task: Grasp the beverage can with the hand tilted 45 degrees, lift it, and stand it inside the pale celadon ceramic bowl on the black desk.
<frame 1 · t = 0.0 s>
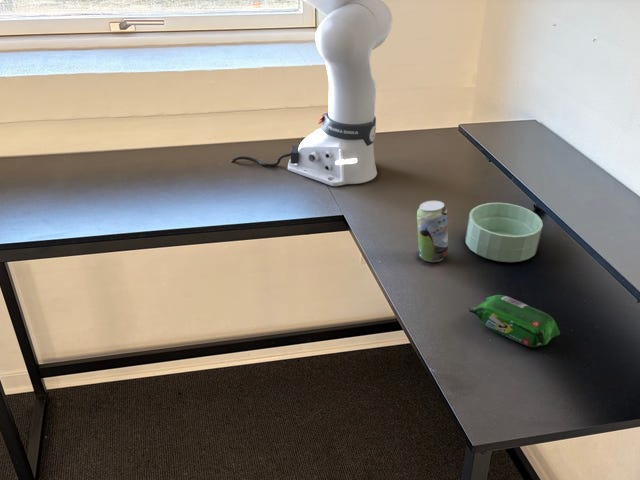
beverage can: (429, 258, 151), on the table
snack package: (511, 332, 132), on the table
bowl: (500, 246, 157), on the table
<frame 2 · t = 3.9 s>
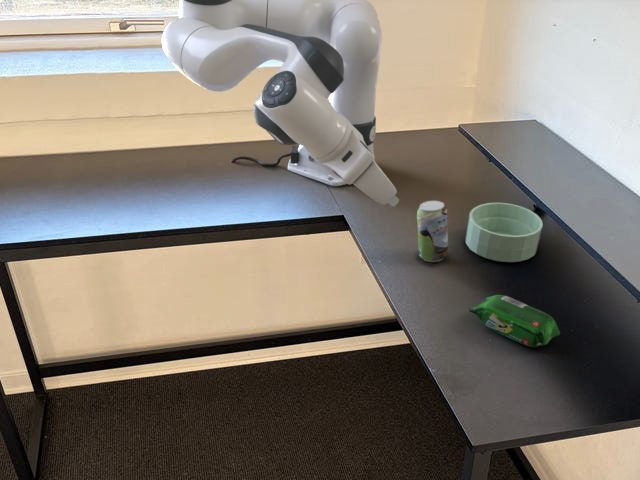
hand: (384, 191, 137), 16 cm above the table, tool tilted 45°, fingers open, 8 cm apart
nothing on the table moved.
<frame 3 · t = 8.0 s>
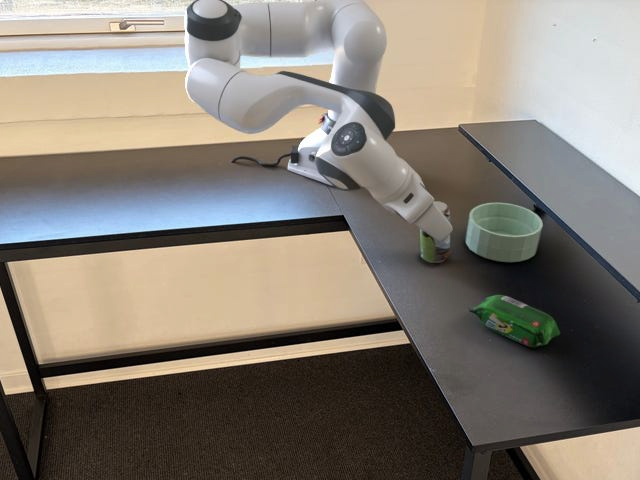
hand: (436, 225, 148), 7 cm above the table, tool tilted 45°, fingers closed on beverage can, 5 cm apart
beverage can: (431, 258, 151), on the table, touching gripper
everything else where it was.
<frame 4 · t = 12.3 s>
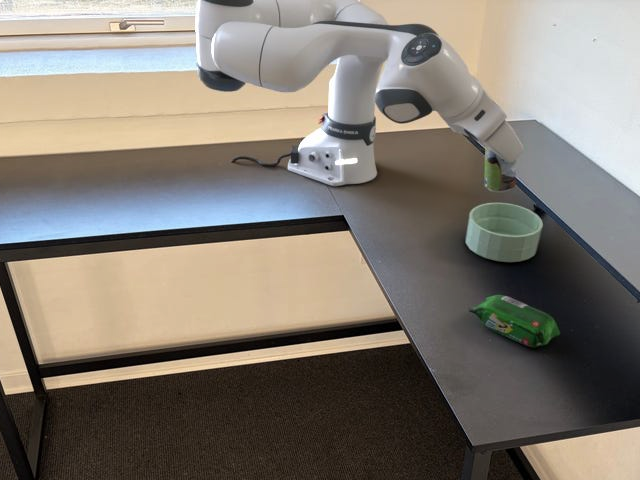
hand: (502, 153, 142), 21 cm above the table, tool tilted 45°, fingers closed on beverage can, 5 cm apart
beverage can: (494, 189, 146), point 14 cm above the table, touching gripper
everything else where it was.
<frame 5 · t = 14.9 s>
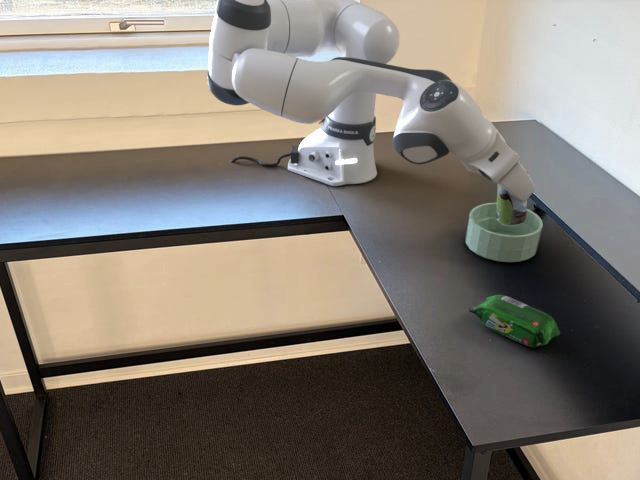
hand: (513, 189, 149), 13 cm above the table, tool tilted 45°, fingers closed on beverage can, 5 cm apart
beverage can: (506, 223, 152), point 6 cm above the table, touching gripper
everything else where it was.
when the fingers open (8 cm above the table, at t = 16.9 s): beverage can stays where it is, resting on bowl.
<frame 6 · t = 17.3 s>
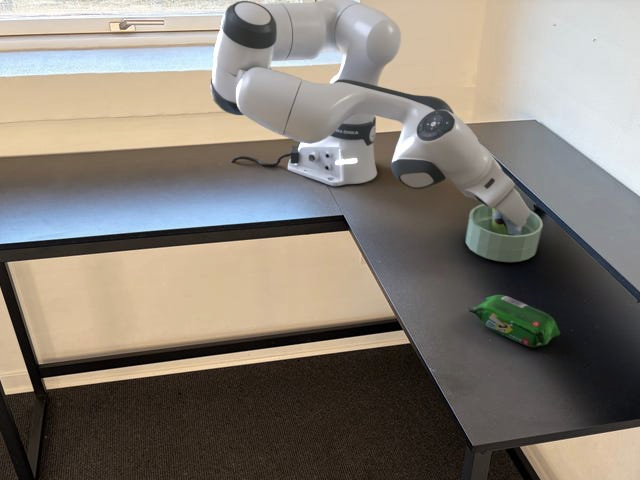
hand: (509, 212, 152), 8 cm above the table, tool tilted 45°, fingers open, 8 cm apart
beverage can: (502, 246, 156), resting on bowl
everything else where it was.
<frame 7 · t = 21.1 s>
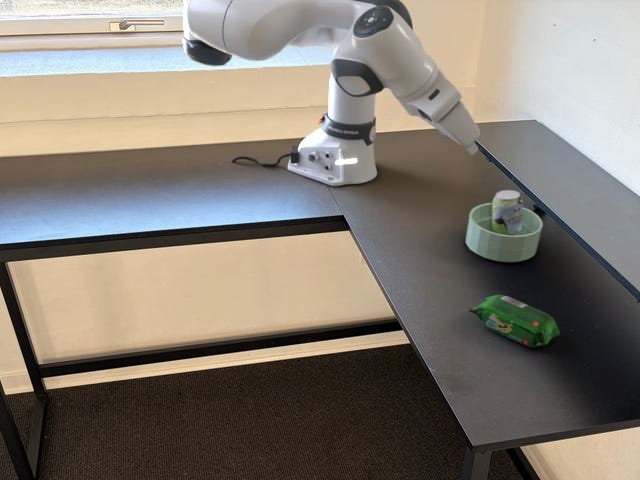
hand: (461, 143, 137), 24 cm above the table, tool tilted 40°, fingers open, 8 cm apart
nothing on the table moved.
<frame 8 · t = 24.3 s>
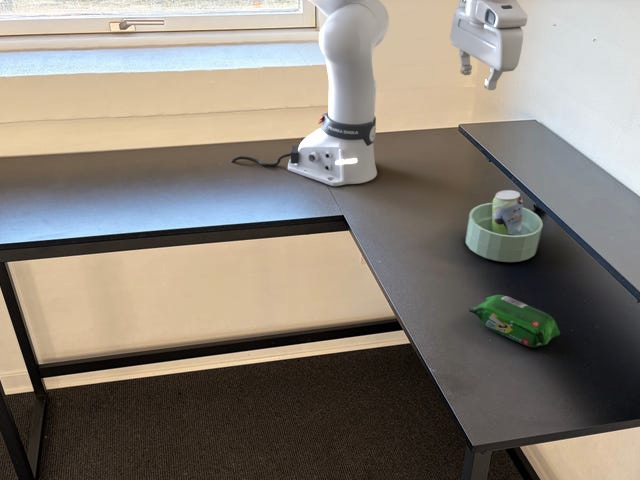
hand: (477, 81, 145), 31 cm above the table, tool pointing down, fingers open, 8 cm apart
nothing on the table moved.
at the end: beverage can inside the target area in the bowl (0.9 cm from its centre), point 0.4 cm above the bowl's base; the gripper is holding nothing; beverage can moved 16.8 cm from its start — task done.
